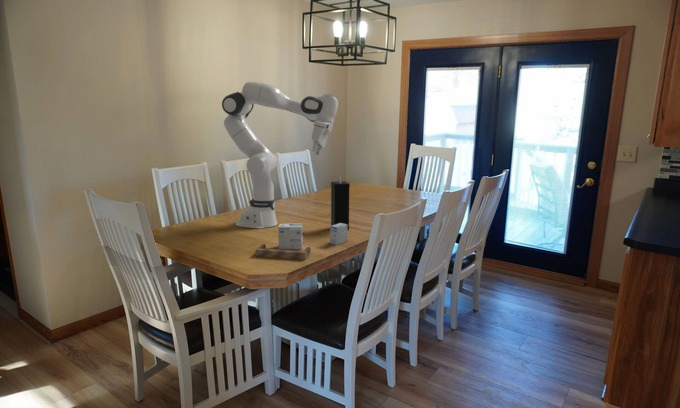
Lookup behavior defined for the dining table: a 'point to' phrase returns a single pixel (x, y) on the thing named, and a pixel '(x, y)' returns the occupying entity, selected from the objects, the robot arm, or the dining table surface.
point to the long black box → (340, 203)
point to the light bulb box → (290, 236)
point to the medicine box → (338, 233)
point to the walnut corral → (282, 253)
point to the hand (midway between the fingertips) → (315, 153)
